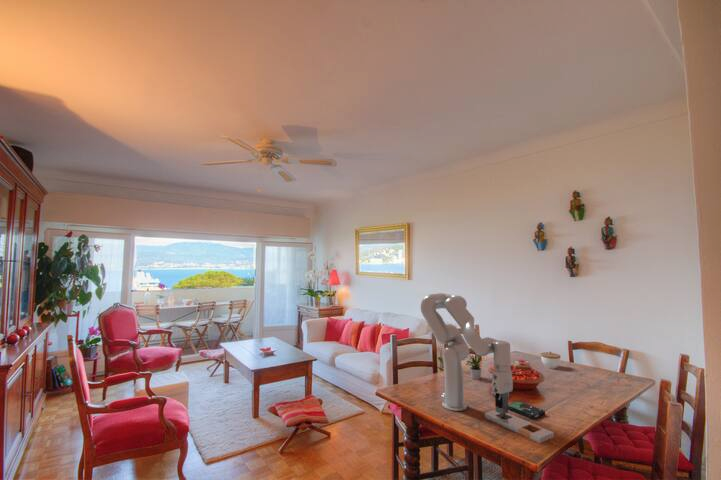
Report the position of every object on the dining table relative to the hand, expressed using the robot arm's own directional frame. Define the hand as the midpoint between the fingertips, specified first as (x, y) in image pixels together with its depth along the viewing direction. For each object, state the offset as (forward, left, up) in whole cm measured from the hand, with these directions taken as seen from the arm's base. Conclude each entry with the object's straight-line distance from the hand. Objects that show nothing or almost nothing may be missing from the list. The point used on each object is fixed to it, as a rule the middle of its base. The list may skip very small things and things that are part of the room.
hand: (501, 405), depth 163 cm
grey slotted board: (+8, 0, -7) cm, 10 cm away
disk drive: (0, +18, -7) cm, 19 cm away
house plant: (-50, +38, -7) cm, 63 cm away
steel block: (0, 0, -3) cm, 3 cm away
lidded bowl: (-38, +104, -7) cm, 111 cm away
